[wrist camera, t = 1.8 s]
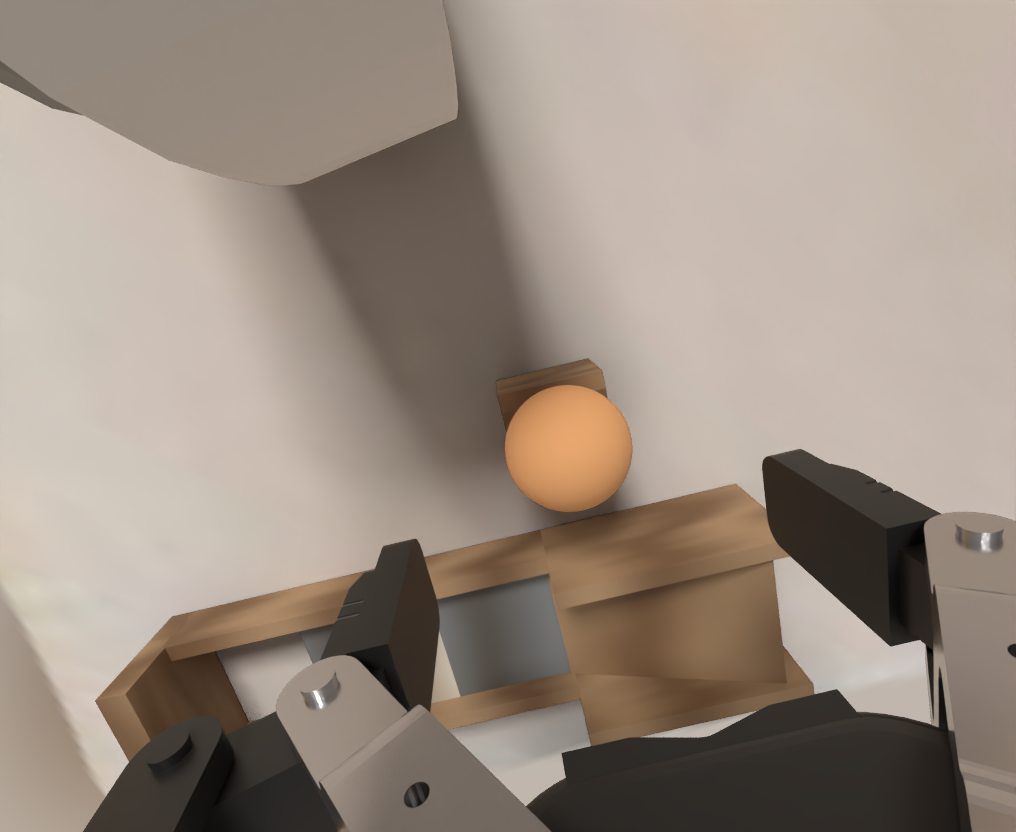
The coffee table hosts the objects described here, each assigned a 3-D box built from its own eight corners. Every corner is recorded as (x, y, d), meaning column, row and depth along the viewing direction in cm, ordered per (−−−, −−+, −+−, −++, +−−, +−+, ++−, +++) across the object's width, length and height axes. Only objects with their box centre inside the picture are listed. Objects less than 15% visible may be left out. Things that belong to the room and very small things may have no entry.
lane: (736, 483, 24) (799, 537, 19) (753, 618, 26) (814, 697, 21) (172, 616, 25) (95, 700, 20) (230, 737, 27) (174, 841, 22)
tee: (588, 358, 22) (602, 370, 19) (605, 445, 23) (621, 468, 20) (496, 380, 22) (497, 395, 19) (517, 466, 23) (521, 491, 21)
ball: (604, 361, 20) (636, 386, 15) (624, 467, 21) (659, 517, 17) (490, 389, 20) (492, 421, 16) (517, 493, 21) (525, 549, 17)
